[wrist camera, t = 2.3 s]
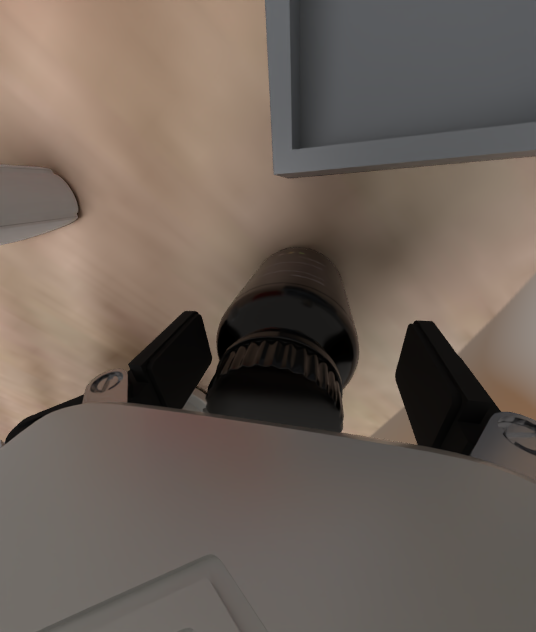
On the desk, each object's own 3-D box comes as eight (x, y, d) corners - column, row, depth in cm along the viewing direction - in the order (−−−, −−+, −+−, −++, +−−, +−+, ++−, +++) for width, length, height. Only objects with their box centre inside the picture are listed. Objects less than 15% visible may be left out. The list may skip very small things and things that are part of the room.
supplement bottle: (342, 325, 19) (370, 490, 9) (262, 326, 20) (204, 467, 10) (343, 238, 16) (389, 337, 5) (248, 248, 17) (145, 339, 7)
